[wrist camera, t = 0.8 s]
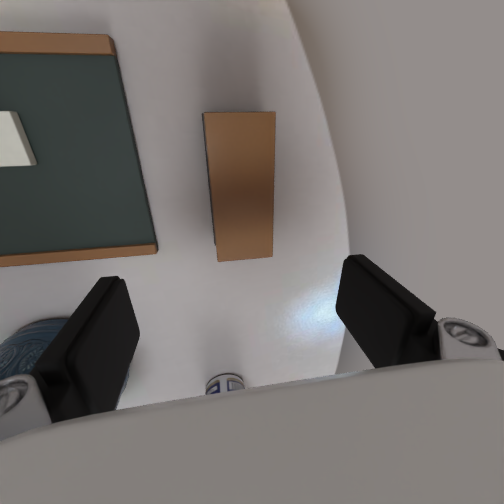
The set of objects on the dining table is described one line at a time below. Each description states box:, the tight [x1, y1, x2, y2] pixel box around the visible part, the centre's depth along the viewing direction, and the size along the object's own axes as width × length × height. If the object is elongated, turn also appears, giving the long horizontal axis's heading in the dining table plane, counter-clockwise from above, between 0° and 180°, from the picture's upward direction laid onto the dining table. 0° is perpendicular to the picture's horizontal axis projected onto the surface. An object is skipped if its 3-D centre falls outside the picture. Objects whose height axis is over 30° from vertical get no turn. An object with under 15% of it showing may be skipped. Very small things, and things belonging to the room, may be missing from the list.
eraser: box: [202, 112, 276, 262], centre depth 20 cm, size 11×5×5 cm, turn 1°
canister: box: [0, 319, 130, 411], centre depth 20 cm, size 13×13×18 cm
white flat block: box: [0, 111, 37, 167], centre depth 17 cm, size 4×2×1 cm
